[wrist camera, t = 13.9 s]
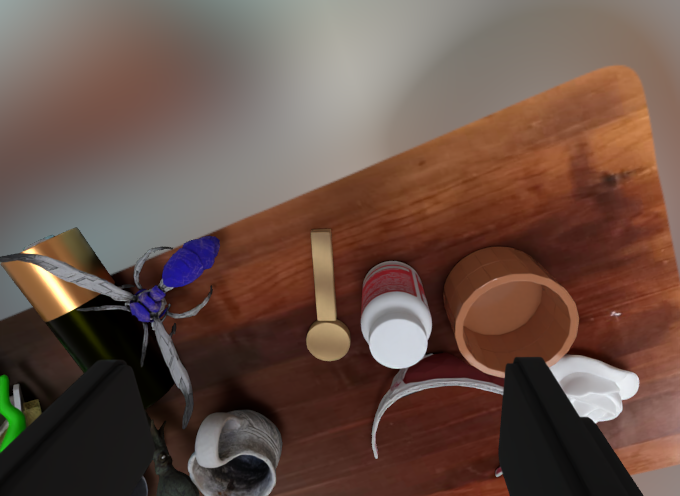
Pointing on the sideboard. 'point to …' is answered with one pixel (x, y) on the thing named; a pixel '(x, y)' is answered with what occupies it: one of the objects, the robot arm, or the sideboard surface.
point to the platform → (17, 401)
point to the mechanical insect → (146, 296)
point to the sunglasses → (435, 382)
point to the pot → (508, 310)
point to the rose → (594, 386)
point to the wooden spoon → (326, 303)
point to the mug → (236, 454)
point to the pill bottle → (395, 315)
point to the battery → (89, 314)
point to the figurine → (168, 468)
